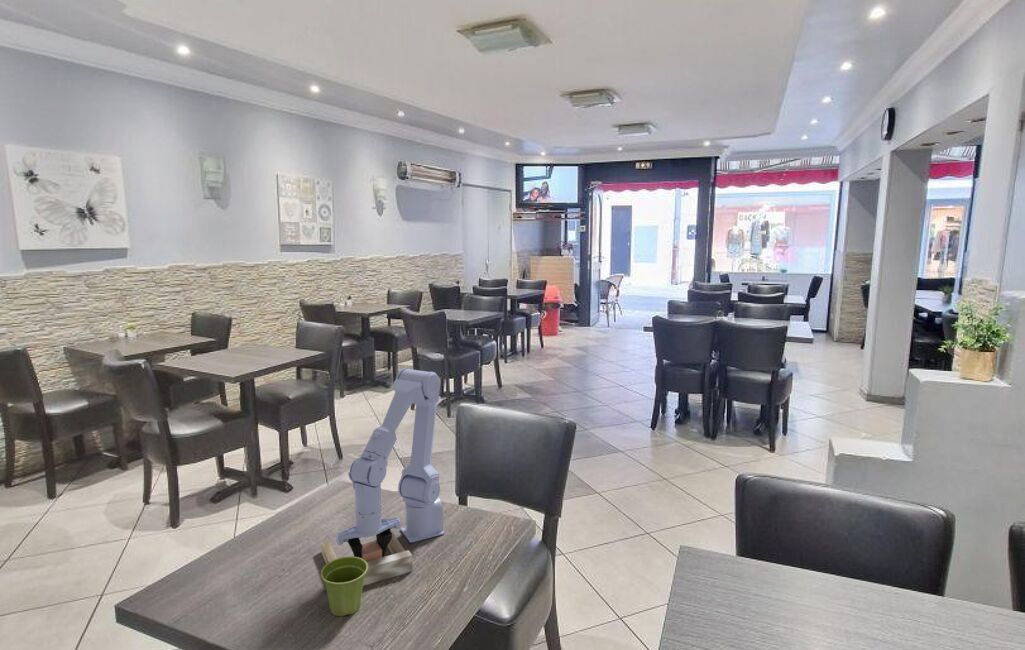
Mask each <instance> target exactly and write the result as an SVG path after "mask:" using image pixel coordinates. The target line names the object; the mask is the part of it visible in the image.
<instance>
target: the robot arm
mask: <svg viewBox="0 0 1025 650" xmlns="http://www.w3.org/2000/svg"><path fill="white" fill-rule="evenodd" d="M441 381H442V380H441V378H440V377H439V375H438V374H437V373H436V372H434V371H425V370H424V371H423V370H418V369H412V368H411V369H410V368H407V367H404V368H401V369H400V370H399V371H398V373H397V374H396V378H395V380H394V382H393V389H394V394H393V397H392V400H391V401H390V405H389V406H388V409H387V412H386V414H385V417H384V419H383V422H382V423H381V425H380V426H379V427H376V428H375V429H373V431H372V433H371V436H370V438H369V439H368V442H367V443H366V445H365V448H364V449H363V452H362V453H361V455H360V457H358V458H356V459H355V460H353V462H352V463H351V465H350V468H349V472H348V478H349V480H350V481H351V483H352V488H353V489H354V498H355V499H354V500H355V501H354V503H355V525H353V526H351V527H349V528H347V529H344V530H343V531H341V532H337V533H336V534H335V535H336V536H335V537H336V538H335V540H336V543H337V545H338V546H341V545H343V544H344V543H348V545H349V547H350V549H351V551H352V553H353V557H359V558H362V557H361V556H362V544H363V543H361V539H360V538H370V537H374V536H376V542H377V543H378V545H379V546H380V548H381V549H382V557H385V555H386V551H387V549H388V547H387V546H388V544H389V542H390V540H391V539H392V533H391V532H390V529H391V530H393V529H395V530H398V529H400V531H401V532H402V534H403V535H404V536H405V538H406V539H407V540H408V542H409V543H411V544H412V543H417V542H420V541H424V540H426V539H431V538H435V537H438V536H441V535H444V534H445V531H444V508H443V502H442V501H441V498H440V497H439V495H440V492H441V485H440V473H439V472H438V471H437V470H436V469H435V468H434V466H433V465H432V455H433V445H434V438H435V436H434V435H435V426H436V416H437V415H436V414H437V405H438V402H439V401H440V391H441ZM413 404H415V413H414V414H415V415H414V424H413V436H412V447H411V455H410V462H409V463H410V464H409V465H407V466H406V467H404V468H403V469H402V471H401V477H400V479H399V481H398V485H397V486H398V487H397V488H398V489H397V491H398V495H399V496H400V497H402V501H403V502H404V503H405V526H402V527H401V520H400V518H399V517H398V516H397V517H392V518H383V519H382V489H381V488H382V486H381V485H382V482H383V481H384V480H385V478H386V475H387V466H388V463H389V461H388V459H389V457H390V454H391V452H392V450H393V449H394V445H395V444H396V442H397V440H398V439H397V434H396V431H397V430H398V427H399V426H400V424H401V423H402V421H403V419H404V417H405V415H406V414H407V412H408V410H409V408H410V407H411V405H413Z"/></svg>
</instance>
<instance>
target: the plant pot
mask: <svg viewBox="0 0 1025 650" xmlns="http://www.w3.org/2000/svg"><path fill="white" fill-rule="evenodd" d="M367 570H368V564H367V562H366V561H365V560H363V559H362V558H359V557H354V556H342V557H339V558H337V559H335V560H333V561H331V562H329V563H327V564H326V563H325V564H324V566H323V568H322V569H321V571H320V577H321V580H322V581H323V583H324V585H325V588H326V594H327V599H328V606H329V611H330V613H331V614H332V615H334V616H336V617H344V616H348V615H353V614H355V613H356V612H357V611H359V609H360V608H361V606H362V605H361V603H362V594H363V590H364V589H363V587H364V586H363V582H364V578H365V574H366V572H367Z"/></svg>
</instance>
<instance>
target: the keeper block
mask: <svg viewBox="0 0 1025 650" xmlns="http://www.w3.org/2000/svg"><path fill="white" fill-rule="evenodd" d="M361 544H362V556H361V557H362V559H363V560H365V561H366V562H367V561H371V560H375V559H378V558H382V549H381V548H380V546H379V545H378V543H377V540H372V541H369V542H367V543H361Z"/></svg>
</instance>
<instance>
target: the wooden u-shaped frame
mask: <svg viewBox="0 0 1025 650" xmlns="http://www.w3.org/2000/svg"><path fill="white" fill-rule="evenodd" d="M390 532H391V533H392V539H391V540H390V542H389V544H388V546H387V549H388V550H389V552H390V555H386V556H384V557H382V558H378V559H375V560H371V561H367V564H368V570H367V572H366V574H365V578H364V582H363V587H364V586H367V585H368V586H369V585H371V584H374V583H376V582H381V581H385V580H388V579H391V578H394V577H398V576H401V575H405V574H408V573H412V572H413V555H412V553H411V551H410V550H405V548H404V546H402V543H401V542H400V541H399V540H398V538H397V536H396V535H395V533H394V532H393V530H392V529H390ZM320 553H321V555H322V558H323V560H324V563H325V565H326V564H327V563H329V562H331V561H333V560H335V559H338V558H337V555H336V552H335V551H334V549H333V546H332V544H331V541H330V540H326V541H322V542H320Z"/></svg>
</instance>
